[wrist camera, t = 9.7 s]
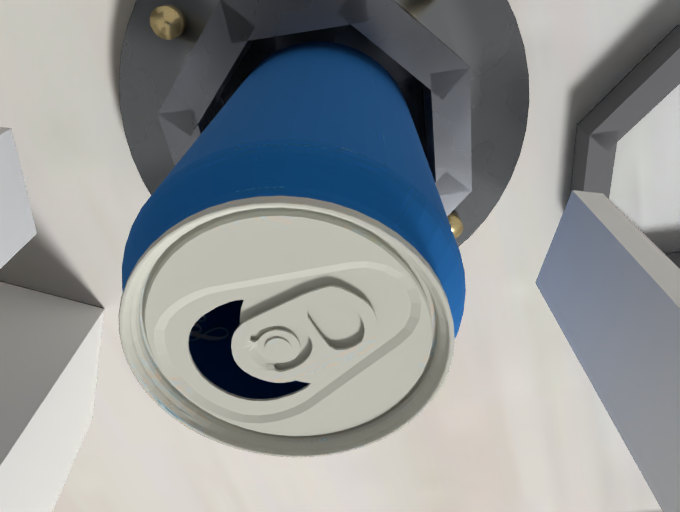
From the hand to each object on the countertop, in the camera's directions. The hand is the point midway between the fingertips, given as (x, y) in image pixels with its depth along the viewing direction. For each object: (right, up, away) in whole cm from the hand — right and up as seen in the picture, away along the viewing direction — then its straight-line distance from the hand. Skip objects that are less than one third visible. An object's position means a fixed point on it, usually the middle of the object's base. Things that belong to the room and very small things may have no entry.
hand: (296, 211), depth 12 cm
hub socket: (0, +4, +7) cm, 8 cm away
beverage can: (0, +4, +7) cm, 8 cm away
